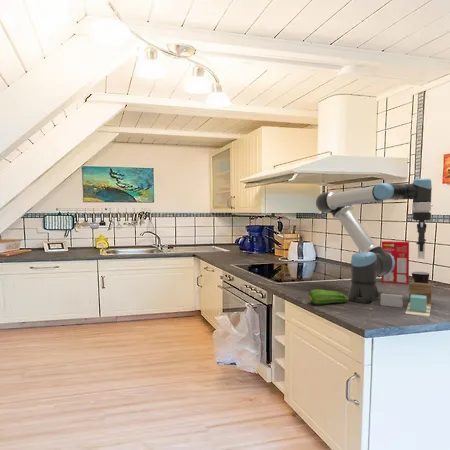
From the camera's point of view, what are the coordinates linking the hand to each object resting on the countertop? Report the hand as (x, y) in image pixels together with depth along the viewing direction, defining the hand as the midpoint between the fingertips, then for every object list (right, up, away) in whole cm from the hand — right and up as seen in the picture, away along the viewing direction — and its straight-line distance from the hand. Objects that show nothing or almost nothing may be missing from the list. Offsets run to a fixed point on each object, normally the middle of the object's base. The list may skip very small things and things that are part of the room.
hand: (421, 256), depth 170 cm
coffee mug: (+13, -22, +26) cm, 36 cm away
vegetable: (-42, -24, +5) cm, 49 cm away
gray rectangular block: (-21, -24, -12) cm, 33 cm away
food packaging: (+11, -20, +50) cm, 55 cm away
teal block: (-8, -22, -13) cm, 27 cm away
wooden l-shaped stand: (-6, -23, -9) cm, 26 cm away
